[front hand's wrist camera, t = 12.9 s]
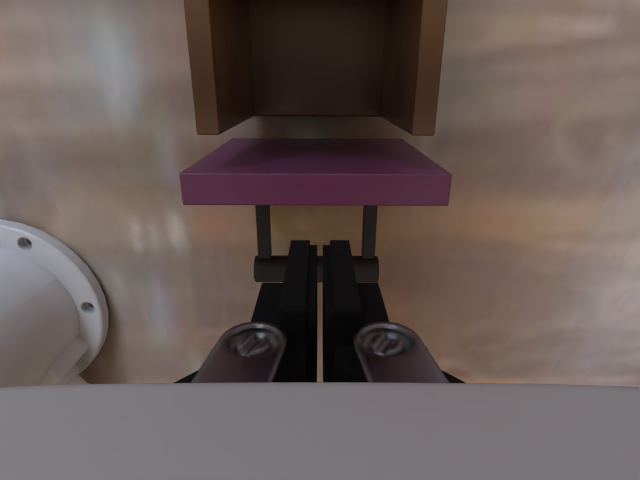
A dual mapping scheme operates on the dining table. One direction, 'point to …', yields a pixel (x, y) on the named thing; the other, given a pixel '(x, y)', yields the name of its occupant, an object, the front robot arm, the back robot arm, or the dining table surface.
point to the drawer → (315, 108)
